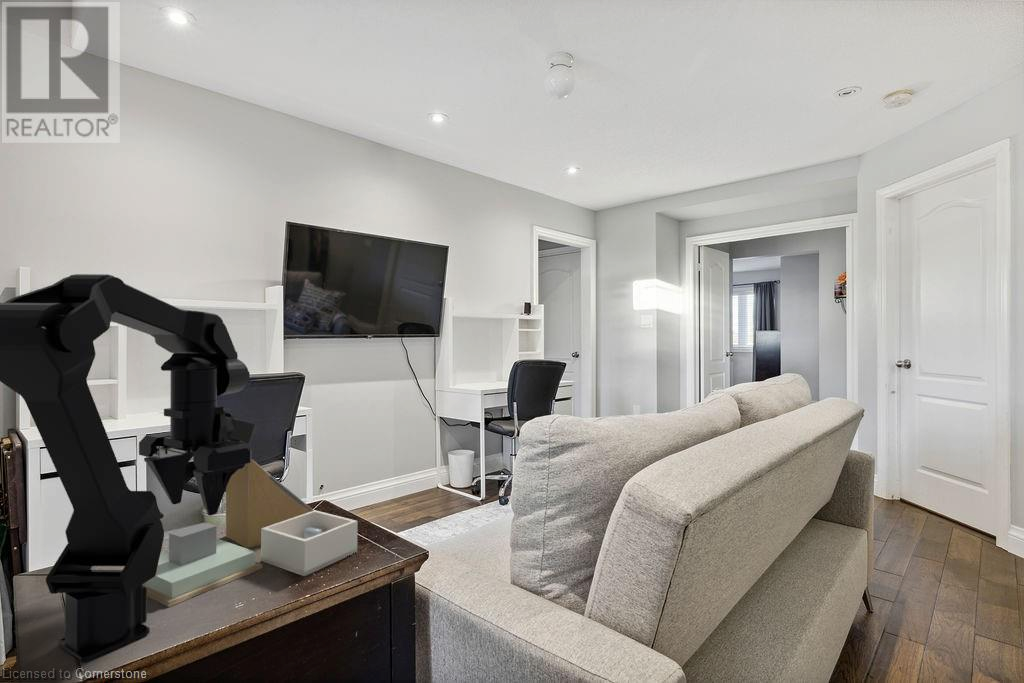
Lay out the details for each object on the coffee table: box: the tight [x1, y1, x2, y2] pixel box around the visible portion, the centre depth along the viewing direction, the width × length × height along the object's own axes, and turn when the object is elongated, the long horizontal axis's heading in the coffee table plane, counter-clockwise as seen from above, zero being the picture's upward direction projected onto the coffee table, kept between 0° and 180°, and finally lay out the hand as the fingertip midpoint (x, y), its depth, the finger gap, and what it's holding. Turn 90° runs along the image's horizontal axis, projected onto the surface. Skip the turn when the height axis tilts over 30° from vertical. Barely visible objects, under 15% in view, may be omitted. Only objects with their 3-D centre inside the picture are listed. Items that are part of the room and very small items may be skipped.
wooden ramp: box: [225, 459, 315, 549], centre depth 93 cm, size 9×15×15 cm, turn 141°
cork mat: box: [142, 561, 263, 608], centre depth 75 cm, size 13×13×1 cm
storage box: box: [260, 509, 358, 577], centre depth 82 cm, size 10×10×5 cm
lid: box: [143, 522, 256, 598], centre depth 75 cm, size 12×12×6 cm
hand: (193, 508), depth 75 cm, fingers open, 9 cm apart
